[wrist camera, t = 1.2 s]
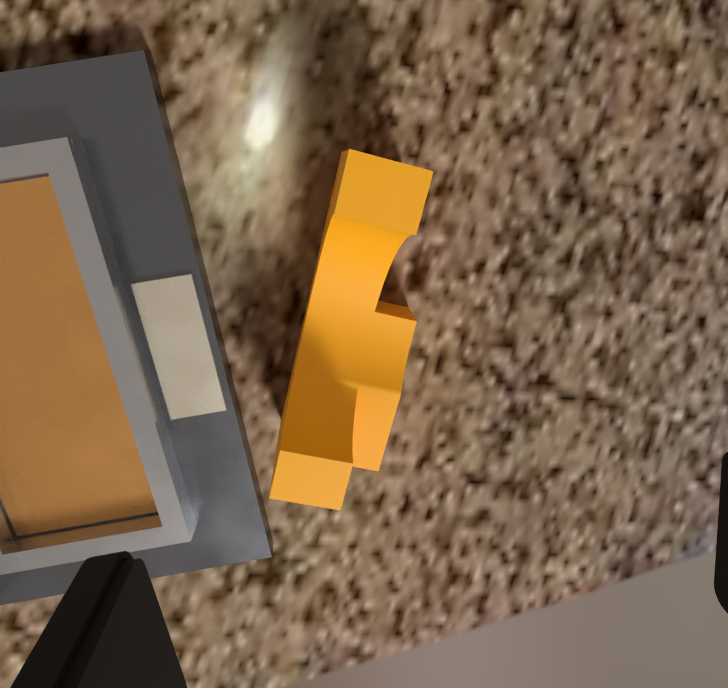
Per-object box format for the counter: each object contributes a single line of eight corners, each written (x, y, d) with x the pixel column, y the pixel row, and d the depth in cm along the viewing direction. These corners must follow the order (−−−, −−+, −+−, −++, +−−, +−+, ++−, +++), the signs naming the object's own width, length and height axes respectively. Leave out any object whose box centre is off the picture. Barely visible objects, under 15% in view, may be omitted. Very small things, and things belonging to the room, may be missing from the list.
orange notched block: (371, 435, 26) (387, 518, 20) (281, 417, 26) (269, 498, 20) (443, 179, 23) (488, 186, 17) (341, 152, 22) (349, 148, 16)
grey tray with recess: (151, 55, 20) (94, 18, 15) (273, 543, 28) (262, 632, 22) (-259, 119, 20) (-462, 104, 15) (-30, 596, 27) (-112, 700, 22)
